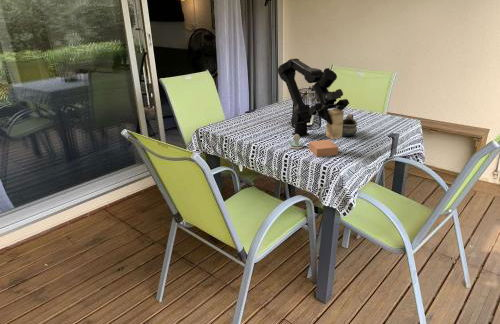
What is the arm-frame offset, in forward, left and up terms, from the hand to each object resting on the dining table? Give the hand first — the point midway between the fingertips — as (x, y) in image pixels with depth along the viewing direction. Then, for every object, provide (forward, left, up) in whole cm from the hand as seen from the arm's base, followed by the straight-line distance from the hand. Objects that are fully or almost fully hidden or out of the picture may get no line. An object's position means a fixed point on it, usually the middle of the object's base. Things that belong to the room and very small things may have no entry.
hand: (336, 123), depth 162 cm
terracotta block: (-3, -4, -14) cm, 15 cm away
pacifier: (-15, -10, -14) cm, 23 cm away
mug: (-14, +22, -14) cm, 29 cm away
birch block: (-1, 0, -7) cm, 7 cm away
